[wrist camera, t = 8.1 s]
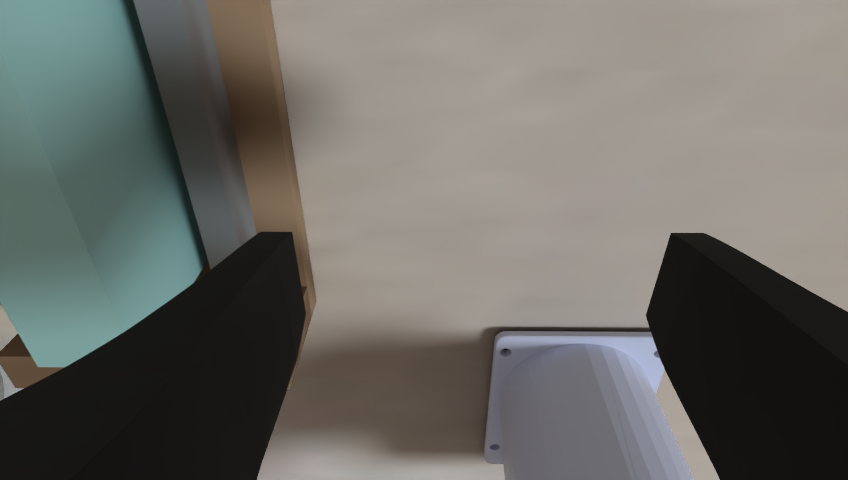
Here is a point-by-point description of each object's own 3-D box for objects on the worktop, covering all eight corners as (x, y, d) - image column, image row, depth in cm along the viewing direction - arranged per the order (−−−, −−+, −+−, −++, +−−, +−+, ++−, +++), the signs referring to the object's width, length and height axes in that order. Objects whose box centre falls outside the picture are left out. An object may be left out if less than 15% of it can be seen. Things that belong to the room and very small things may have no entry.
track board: (316, 300, 23) (289, 390, 18) (92, 299, 23) (15, 388, 19) (221, -312, 12) (112, -426, 8) (-187, -307, 12) (-503, -417, 8)
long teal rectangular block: (212, 252, 20) (139, 368, 15) (136, 252, 20) (38, 367, 15) (109, -121, 14) (-83, -140, 8) (-3, -121, 14) (-260, -139, 9)
